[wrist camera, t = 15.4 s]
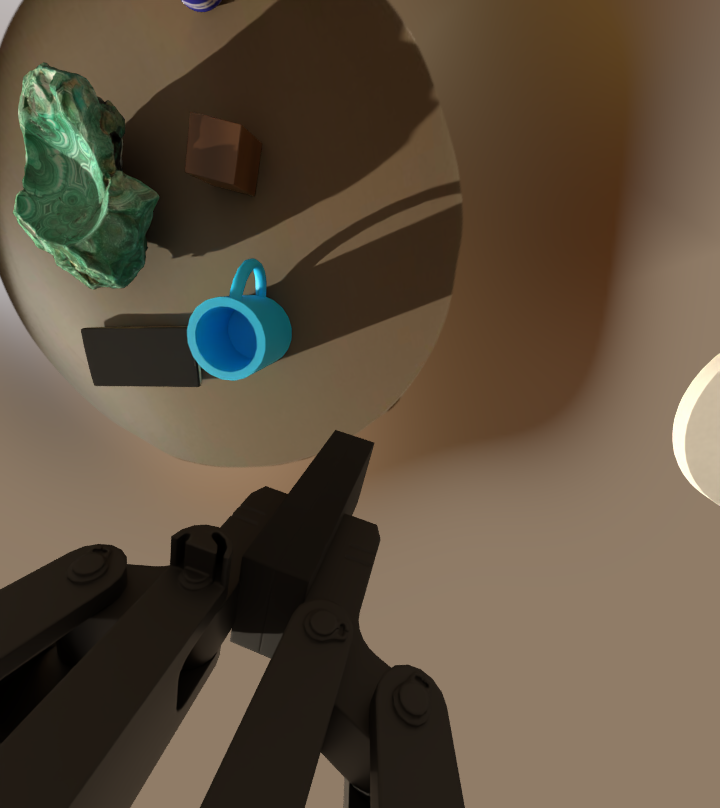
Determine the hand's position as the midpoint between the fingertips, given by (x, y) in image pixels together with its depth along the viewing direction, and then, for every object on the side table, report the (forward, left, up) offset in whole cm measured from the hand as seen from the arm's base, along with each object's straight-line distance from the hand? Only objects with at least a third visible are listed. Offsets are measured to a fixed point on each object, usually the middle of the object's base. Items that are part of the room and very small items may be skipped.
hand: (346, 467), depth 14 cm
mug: (+16, +1, -31) cm, 35 cm away
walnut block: (+21, -14, -31) cm, 40 cm away
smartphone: (+30, +10, -31) cm, 44 cm away
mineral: (+34, -7, -31) cm, 46 cm away
